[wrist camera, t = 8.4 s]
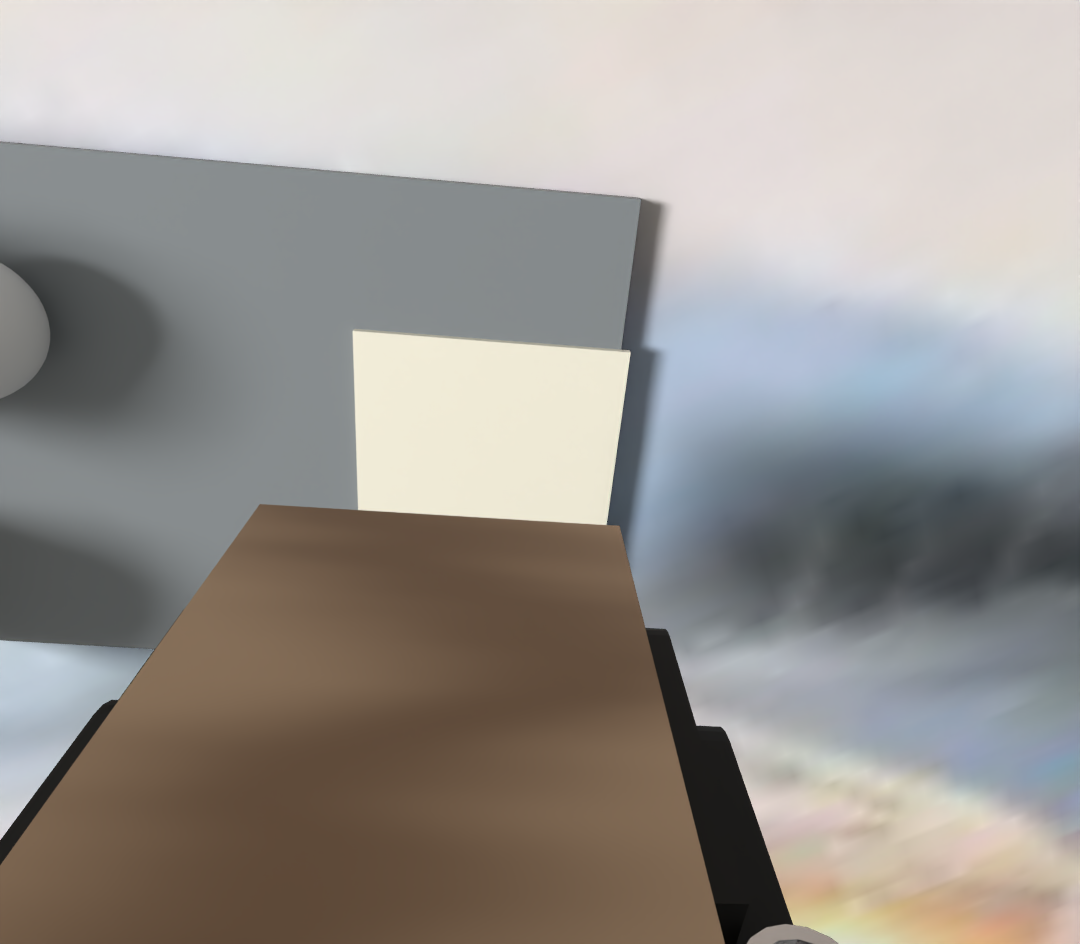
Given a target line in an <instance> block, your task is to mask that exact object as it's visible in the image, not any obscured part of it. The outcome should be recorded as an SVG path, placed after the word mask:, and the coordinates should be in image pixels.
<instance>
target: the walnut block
mask: <svg viewBox="0 0 1080 944" xmlns="http://www.w3.org/2000/svg"><path fill="white" fill-rule="evenodd" d="M0 944H725V942H724V938H723V934H722V930H721V926H720V922H719V918H718V914H717V910H716V906H715V902H714V898H713V895H712V891H711V887H710V883H709V879H708V875H707V871H706V867H705V863H704V859H703V855H702V851H701V847H700V843H699V839H698V835H697V831H696V827H695V823H694V819H693V815H692V811H691V807H690V803H689V799H688V795H687V791H686V788H685V784H684V780H683V776H682V772H681V768H680V764H679V760H678V756H677V752H676V748H675V744H674V740H673V736H672V732H671V728H670V724H669V720H668V716H667V712H666V708H665V704H664V700H663V696H662V692H661V688H660V684H659V681H658V677H657V673H656V669H655V665H654V661H653V657H652V653H651V649H650V645H649V641H648V637H647V633H646V629H645V625H644V621H643V617H642V613H641V609H640V605H639V601H638V597H637V593H636V589H635V585H634V581H633V577H632V574H631V570H630V566H629V562H628V558H627V554H626V550H625V546H624V542H623V538H622V534H621V530H620V526H614V525H597V524H581V523H564V522H548V521H531V520H515V519H498V518H482V517H465V516H449V515H432V514H416V513H399V512H383V511H366V510H350V509H333V508H317V507H300V506H284V505H267V504H260V505H259V506H258V507H257V509H256V510H255V511H254V513H253V514H252V516H251V517H250V518H249V520H248V521H247V523H246V524H245V525H244V527H243V528H242V530H241V531H240V532H239V534H238V535H237V537H236V538H235V539H234V541H233V542H232V544H231V545H230V546H229V548H228V549H227V550H226V552H225V553H224V555H223V556H222V557H221V559H220V560H219V562H218V563H217V564H216V566H215V567H214V569H213V570H212V571H211V573H210V574H209V576H208V577H207V578H206V580H205V581H204V582H203V584H202V585H201V587H200V588H199V589H198V591H197V592H196V594H195V595H194V596H193V598H192V599H191V601H190V602H189V603H188V605H187V606H186V608H185V609H184V610H183V612H182V613H181V614H180V616H179V617H178V619H177V620H176V621H175V623H174V624H173V626H172V627H171V628H170V630H169V631H168V633H167V634H166V635H165V637H164V638H163V640H162V641H161V642H160V644H159V645H158V646H157V648H156V649H155V651H154V652H153V653H152V655H151V656H150V658H149V659H148V660H147V662H146V663H145V665H144V666H143V667H142V669H141V670H140V672H139V673H138V674H137V676H136V677H135V679H134V680H133V681H132V683H131V684H130V685H129V687H128V688H127V690H126V691H125V692H124V694H123V695H122V697H121V698H120V699H119V701H118V702H117V704H116V705H115V706H114V708H113V709H112V711H111V712H110V713H109V715H108V716H107V717H106V719H105V720H104V722H103V723H102V724H101V726H100V727H99V729H98V730H97V731H96V733H95V734H94V736H93V737H92V738H91V740H90V741H89V743H88V744H87V745H86V747H85V748H84V749H83V751H82V752H81V754H80V755H79V756H78V758H77V759H76V761H75V762H74V763H73V765H72V766H71V768H70V769H69V770H68V772H67V773H66V775H65V776H64V777H63V779H62V780H61V782H60V783H59V784H58V786H57V787H56V788H55V790H54V791H53V793H52V794H51V795H50V797H49V798H48V800H47V801H46V802H45V804H44V805H43V807H42V808H41V809H40V811H39V812H38V814H37V815H36V816H35V818H34V819H33V820H32V822H31V823H30V825H29V826H28V827H27V829H26V830H25V832H24V833H23V834H22V836H21V837H20V839H19V840H18V841H17V843H16V844H15V846H14V847H13V848H12V850H11V851H10V852H9V854H8V855H7V857H6V858H5V859H4V861H3V862H2V864H1V865H0Z"/></svg>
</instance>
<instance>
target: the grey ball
mask: <svg viewBox="0 0 1080 944" xmlns="http://www.w3.org/2000/svg"><path fill="white" fill-rule="evenodd" d="M49 345H50V327H49V321H48V318H47V314H46V312H45V309H44V307H43V305H42V303H41V301H40V299H39V298H38V296H37V295H36V293H35V292H34V291H33V289H32V288H31V287H30V286H29V285H28V284H27V283H26V282H25V281H24V280H23V279H22V278H21V277H20V276H19V275H18V274H16V273H15V272H14V271H13V270H11V269H10V268H8V267H7V266H5V265H4V264H2V263H0V398H3V397H6V396H8V395H10V394H12V393H14V392H16V391H17V390H19V389H20V388H22V387H23V386H25V385H26V384H27V383H28V382H29V381H30V380H31V379H32V378H33V377H34V376H35V375H36V374H37V373H38V371H39V370H40V368H41V367H42V365H43V363H44V361H45V359H46V357H47V353H48V350H49Z"/></svg>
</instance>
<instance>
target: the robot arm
mask: <svg viewBox="0 0 1080 944" xmlns="http://www.w3.org/2000/svg"><path fill="white" fill-rule="evenodd" d="M182 612H183V611H182ZM182 612H181V613H182ZM179 616H180V615H179ZM179 616H178V617H179ZM177 619H178V618H177ZM177 619H176V620H177ZM176 620H175V621H176ZM174 623H175V622H174ZM174 623H173V624H174ZM172 626H173V625H172ZM172 626H171V627H172ZM171 627H170V628H171ZM645 629H646V633H647V637H648V641H649V645H650V649H651V653H652V657H653V661H654V665H655V669H656V673H657V677H658V681H659V684H660V688H661V692H662V696H663V700H664V704H665V708H666V712H667V716H668V720H669V724H670V728H671V732H672V736H673V740H674V744H675V748H676V752H677V756H678V760H679V764H680V768H681V772H682V776H683V780H684V784H685V788H686V791H687V795H688V799H689V803H690V807H691V811H692V815H693V819H694V823H695V827H696V831H697V835H698V839H699V843H700V847H701V851H702V855H703V859H704V863H705V867H706V871H707V875H708V879H709V883H710V887H711V891H712V895H713V898H714V902H715V906H716V910H717V914H718V918H719V922H720V926H721V930H722V934H723V938H724V942H725V944H838V943H837V942H836V941H834V940H833V939H832V938H830V937H828V936H826V935H824V934H821V933H819V932H817V931H815V930H812V929H810V928H808V927H802V926H796V925H793V923H792V920H791V917H790V914H789V912H788V909H787V906H786V903H785V900H784V897H783V894H782V891H781V888H780V885H779V883H778V880H777V877H776V874H775V871H774V868H773V865H772V862H771V859H770V856H769V854H768V851H767V848H766V845H765V842H764V839H763V836H762V833H761V830H760V827H759V825H758V822H757V819H756V816H755V813H754V810H753V807H752V804H751V801H750V799H749V796H748V793H747V790H746V787H745V784H744V781H743V778H742V775H741V772H740V770H739V767H738V764H737V761H736V758H735V755H734V752H733V749H732V746H731V743H730V741H729V739H728V736H727V734H726V732H725V731H724V730H723V729H722V728H721V727H712V726H696V724H695V720H694V717H693V713H692V710H691V707H690V703H689V700H688V697H687V693H686V690H685V687H684V683H683V680H682V676H681V673H680V670H679V666H678V663H677V660H676V656H675V653H674V650H673V646H672V643H671V639H670V636H669V634H668V631H667V630H666V629H654V628H645ZM169 630H170V629H169ZM169 630H168V631H169ZM167 633H168V632H167ZM167 633H166V634H167ZM166 634H165V635H166ZM164 637H165V636H164ZM164 637H163V638H164ZM162 640H163V639H162ZM162 640H161V641H162ZM161 641H160V642H161ZM159 644H160V643H159ZM159 644H158V645H159ZM156 648H157V647H156ZM156 648H155V649H156ZM154 651H155V650H154ZM154 651H153V652H154ZM151 655H152V654H151ZM151 655H150V656H151ZM149 658H150V657H149ZM149 658H148V659H149ZM148 659H147V660H148ZM146 662H147V661H146ZM146 662H145V663H146ZM144 665H145V664H144ZM144 665H143V666H144ZM143 666H142V667H143ZM141 669H142V668H141ZM141 669H140V670H141ZM139 672H140V671H139ZM139 672H138V673H139ZM138 673H137V674H138ZM136 676H137V675H136ZM136 676H135V677H136ZM134 679H135V678H134ZM134 679H133V680H134ZM133 680H132V681H133ZM131 683H132V682H131ZM131 683H130V684H131ZM128 687H129V686H128ZM128 687H127V688H128ZM126 690H127V689H126ZM126 690H125V691H126ZM123 694H124V693H123ZM123 694H122V695H123ZM121 697H122V696H121ZM121 697H120V698H121ZM120 698H119V699H120ZM118 701H119V700H111V701H109V702H107V703H105V704H103V705H102V706H101V707H100V708H99V709H98V710H97V712H96V713H95V714H94V715H93V716H92V718H91V719H90V720H89V722H88V723H87V724H86V726H85V727H84V728H83V730H82V731H81V732H80V734H79V735H78V736H77V738H76V739H75V741H74V742H73V743H72V745H71V746H70V747H69V749H68V750H67V751H66V753H65V754H64V755H63V757H62V758H61V759H60V761H59V762H58V763H57V765H56V766H55V767H54V769H53V770H52V771H51V773H50V774H49V776H48V777H47V778H46V780H45V781H44V782H43V784H42V785H41V786H40V788H39V789H38V790H37V792H36V793H35V794H34V796H33V797H32V798H31V800H30V801H29V802H28V804H27V805H26V806H25V808H24V809H23V811H22V812H21V813H20V815H19V816H18V817H17V819H16V820H15V821H14V823H13V824H12V825H11V827H10V828H9V829H8V831H7V832H6V833H5V835H4V836H3V837H2V839H1V840H0V865H1V864H2V862H3V861H4V859H5V858H6V857H7V855H8V854H9V852H10V851H11V850H12V848H13V847H14V846H15V844H16V843H17V841H18V840H19V839H20V837H21V836H22V834H23V833H24V832H25V830H26V829H27V827H28V826H29V825H30V823H31V822H32V820H33V819H34V818H35V816H36V815H37V814H38V812H39V811H40V809H41V808H42V807H43V805H44V804H45V802H46V801H47V800H48V798H49V797H50V795H51V794H52V793H53V791H54V790H55V788H56V787H57V786H58V784H59V783H60V782H61V780H62V779H63V777H64V776H65V775H66V773H67V772H68V770H69V769H70V768H71V766H72V765H73V763H74V762H75V761H76V759H77V758H78V756H79V755H80V754H81V752H82V751H83V749H84V748H85V747H86V745H87V744H88V743H89V741H90V740H91V738H92V737H93V736H94V734H95V733H96V731H97V730H98V729H99V727H100V726H101V724H102V723H103V722H104V720H105V719H106V717H107V716H108V715H109V713H110V712H111V711H112V709H113V708H114V706H115V705H116V704H117V702H118Z"/></svg>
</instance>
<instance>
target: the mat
mask: <svg viewBox="0 0 1080 944" xmlns="http://www.w3.org/2000/svg"><path fill="white" fill-rule="evenodd" d="M640 205H641V199H639V198H636V197H625V196H613V195H602V194H591V193H579V192H568V191H556V190H545V189H534V188H522V187H511V186H500V185H488V184H477V183H465V182H454V181H443V180H431V179H420V178H409V177H397V176H386V175H374V174H363V173H352V172H340V171H329V170H318V169H306V168H295V167H283V166H272V165H261V164H249V163H238V162H227V161H215V160H204V159H192V158H181V157H170V156H158V155H147V154H136V153H124V152H113V151H101V150H90V149H79V148H67V147H56V146H45V145H33V144H22V143H10V142H0V263H2V264H4V265H5V266H7V267H8V268H10V269H11V270H13V271H14V272H15V273H16V274H18V275H19V276H20V277H21V278H22V279H23V280H24V281H25V282H26V283H27V284H28V285H29V286H30V287H31V288H32V289H33V291H34V292H35V293H36V295H37V296H38V298H39V299H40V301H41V303H42V305H43V307H44V309H45V312H46V314H47V318H48V321H49V327H50V345H49V350H48V353H47V357H46V359H45V361H44V363H43V365H42V367H41V368H40V370H39V371H38V373H37V374H36V375H35V376H34V377H33V378H32V379H31V380H30V381H29V382H28V383H27V384H26V385H25V386H23V387H22V388H20V389H19V390H17V391H16V392H14V393H12V394H10V395H8V396H6V397H3V398H0V640H6V641H23V642H41V643H58V644H76V645H93V646H111V647H128V648H146V649H155V648H156V647H157V646H158V644H159V643H160V641H161V640H162V639H163V637H164V636H165V634H166V633H167V632H168V630H169V629H170V627H171V626H172V625H173V623H174V622H175V620H176V619H177V618H178V616H179V615H180V614H181V612H182V611H183V610H184V609H185V608H186V606H187V605H188V603H189V602H190V601H191V599H192V598H193V596H194V595H195V594H196V592H197V591H198V589H199V588H200V587H201V585H202V584H203V582H204V581H205V580H206V578H207V577H208V576H209V574H210V573H211V571H212V570H213V569H214V567H215V566H216V564H217V563H218V562H219V560H220V559H221V557H222V556H223V555H224V553H225V552H226V550H227V549H228V548H229V546H230V545H231V544H232V542H233V541H234V539H235V538H236V537H237V535H238V534H239V532H240V531H241V530H242V528H243V527H244V525H245V524H246V523H247V521H248V520H249V518H250V517H251V516H252V514H253V513H254V511H255V510H256V509H257V507H258V506H259V505H260V504H267V505H284V506H300V507H317V508H333V509H350V510H366V511H383V512H399V513H416V514H432V515H449V516H465V517H482V518H498V519H515V520H531V521H548V522H564V523H581V524H597V525H607V518H608V511H609V504H610V497H611V490H612V482H613V475H614V468H615V461H616V454H617V447H618V439H619V432H620V425H621V418H622V411H623V404H624V397H625V389H626V382H627V375H628V368H629V361H630V354H631V352H630V350H621V347H622V339H623V332H624V324H625V317H626V309H627V302H628V294H629V287H630V280H631V272H632V265H633V257H634V250H635V242H636V235H637V227H638V220H639V212H640Z"/></svg>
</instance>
